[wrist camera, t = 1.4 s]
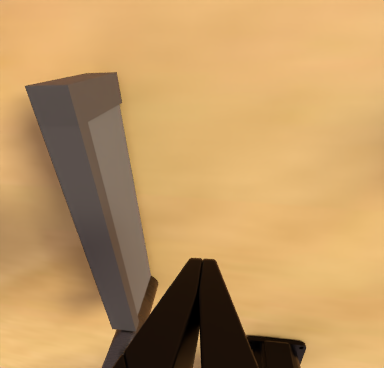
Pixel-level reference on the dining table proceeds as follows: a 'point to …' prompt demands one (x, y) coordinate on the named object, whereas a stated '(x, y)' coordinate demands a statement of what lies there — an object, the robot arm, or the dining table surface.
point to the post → (125, 337)
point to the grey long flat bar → (97, 184)
